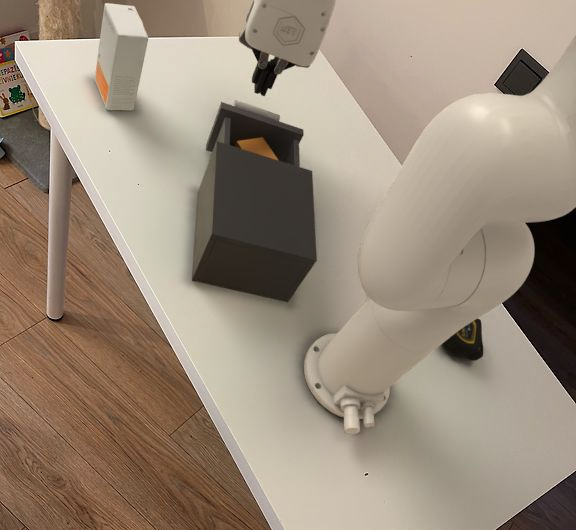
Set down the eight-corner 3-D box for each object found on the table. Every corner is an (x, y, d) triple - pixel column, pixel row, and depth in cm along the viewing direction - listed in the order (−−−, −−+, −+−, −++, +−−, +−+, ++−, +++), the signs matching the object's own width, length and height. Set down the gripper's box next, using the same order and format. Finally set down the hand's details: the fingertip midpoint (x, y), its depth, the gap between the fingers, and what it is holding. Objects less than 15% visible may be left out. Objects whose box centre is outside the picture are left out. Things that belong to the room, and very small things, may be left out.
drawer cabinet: (197, 192, 85) (216, 140, 77) (285, 217, 89) (312, 170, 82) (191, 280, 77) (211, 233, 70) (287, 302, 82) (317, 260, 74)
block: (267, 184, 88) (279, 161, 84) (242, 189, 86) (253, 166, 82) (252, 160, 89) (262, 136, 85) (226, 165, 87) (236, 141, 83)
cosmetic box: (92, 80, 86) (103, 1, 77) (121, 81, 89) (135, 4, 79) (105, 111, 85) (118, 34, 75) (134, 112, 87) (150, 37, 77)
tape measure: (472, 367, 91) (488, 355, 88) (434, 353, 89) (449, 340, 86) (470, 331, 94) (486, 318, 91) (434, 316, 92) (448, 303, 89)
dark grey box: (207, 122, 91) (222, 78, 84) (282, 146, 95) (302, 106, 89) (201, 218, 82) (217, 177, 75) (285, 240, 86) (307, 203, 80)
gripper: (253, -43, 70) (209, 88, 85) (365, 6, 75) (305, 121, 90) (253, -77, 73) (212, 55, 88) (360, -28, 78) (304, 88, 93)
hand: (259, 88), depth 89 cm, fingers closed
